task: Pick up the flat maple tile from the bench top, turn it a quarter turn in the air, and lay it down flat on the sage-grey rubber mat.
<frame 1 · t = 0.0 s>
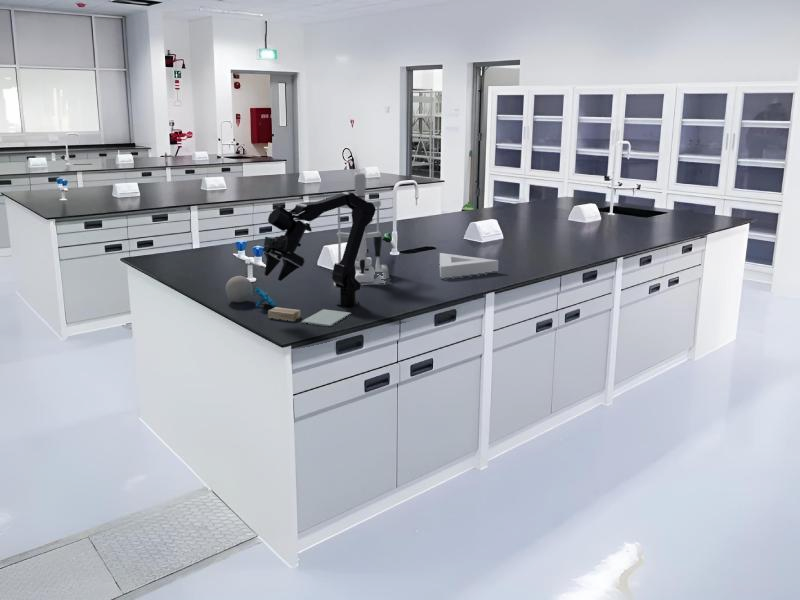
hand: (272, 277, 237), 15 cm above the table, tool tilted 35°, fingers open, 9 cm apart
microscope: (361, 279, 300), on the table
mat: (326, 318, 243), on the table
eye model: (239, 302, 262), on the table
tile: (284, 318, 243), on the table
triangular ruler: (468, 274, 314), on the table
blue bumpy slanted figure: (265, 306, 257), on the table
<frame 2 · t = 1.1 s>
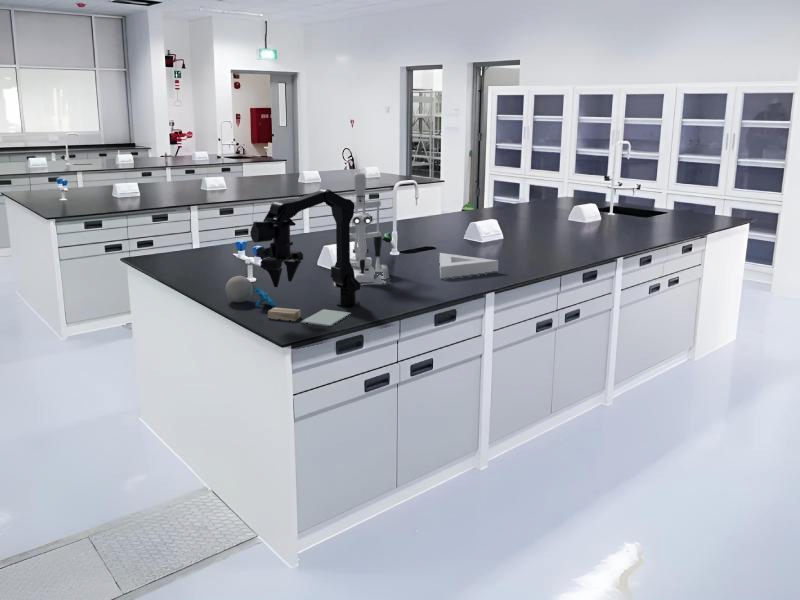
hand: (283, 284, 240), 12 cm above the table, tool pointing down, fingers open, 9 cm apart
nothing on the table moved.
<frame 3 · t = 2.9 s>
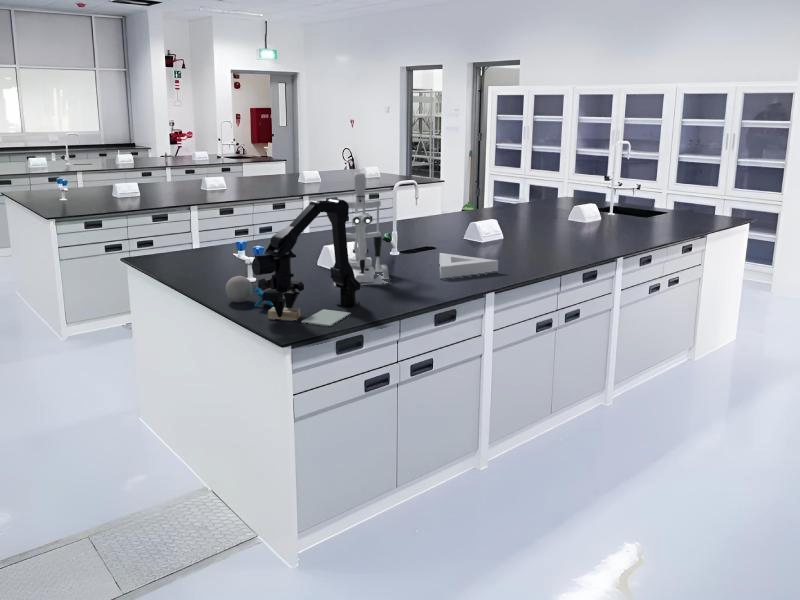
hand: (284, 314, 243), 1 cm above the table, tool pointing down, fingers closed on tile, 5 cm apart
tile: (284, 318, 243), on the table, touching gripper
everything else where it was.
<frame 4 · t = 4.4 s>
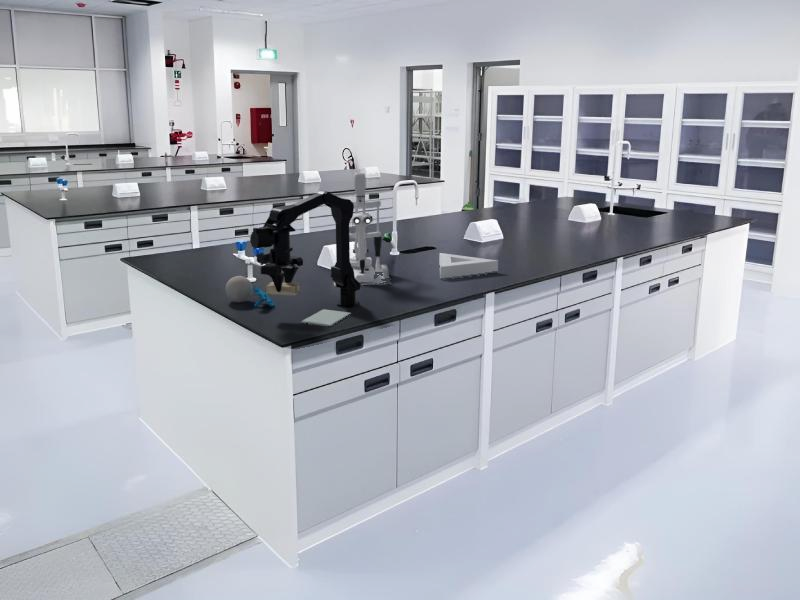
hand: (283, 289, 240), 10 cm above the table, tool pointing down, fingers closed on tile, 5 cm apart
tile: (283, 292, 241), point 9 cm above the table, touching gripper
everything else where it was.
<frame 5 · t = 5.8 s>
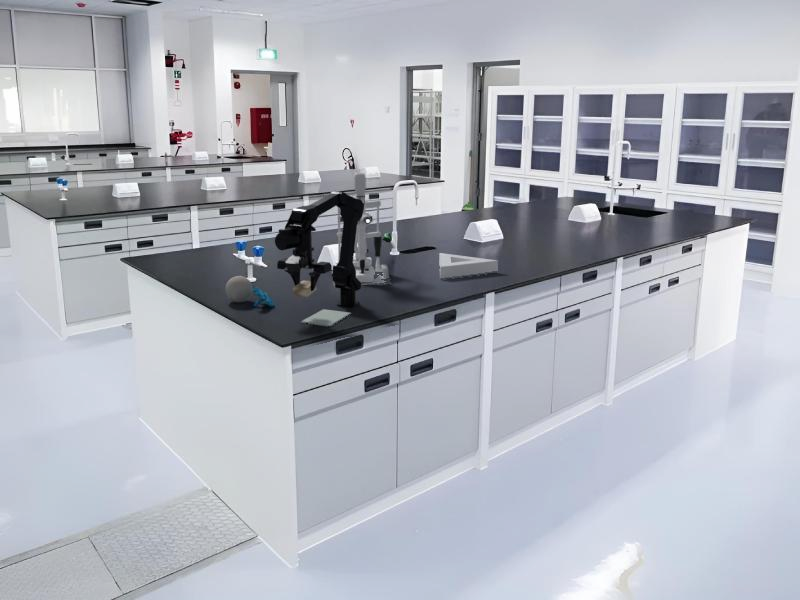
hand: (305, 289, 241), 10 cm above the table, tool pointing down, fingers closed on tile, 5 cm apart
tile: (305, 292, 241), point 9 cm above the table, touching gripper
everything else where it was.
when the fingers open (3 cm above the table, at t = 8.4 s): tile drops 1 cm, resting on mat.
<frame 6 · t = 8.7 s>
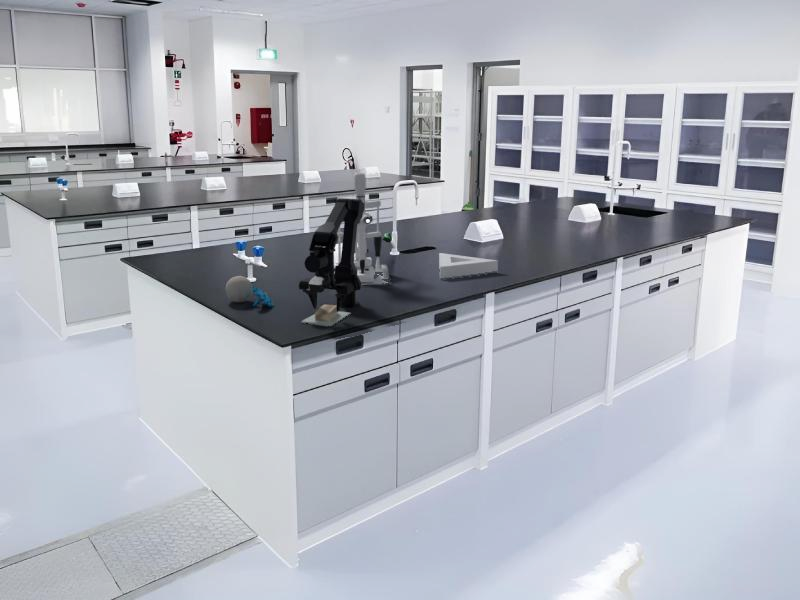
hand: (326, 310, 242), 3 cm above the table, tool pointing down, fingers open, 9 cm apart
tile: (326, 316, 242), point 1 cm above the table, touching mat
everything else where it was.
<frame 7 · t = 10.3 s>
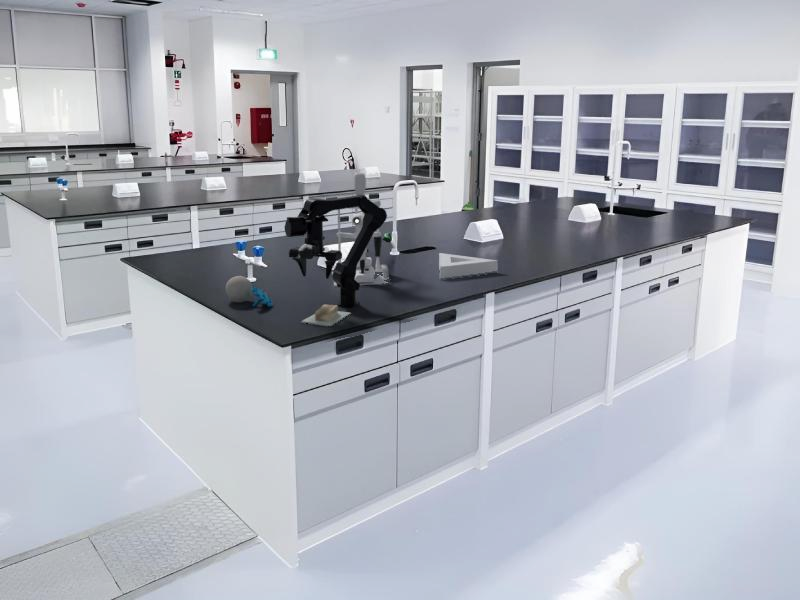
hand: (315, 277, 250), 12 cm above the table, tool pointing down, fingers open, 9 cm apart
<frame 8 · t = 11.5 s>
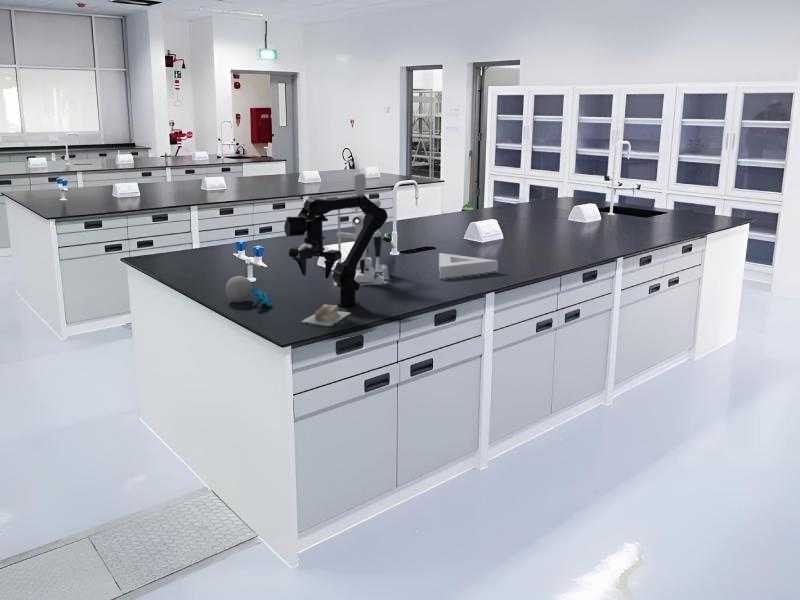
hand: (315, 277, 251), 12 cm above the table, tool pointing down, fingers open, 9 cm apart
at the end: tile inside the target area on the mat (0.0 cm from its centre), point 0.6 cm above the mat's base; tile tilted 0°; the gripper is holding nothing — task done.
